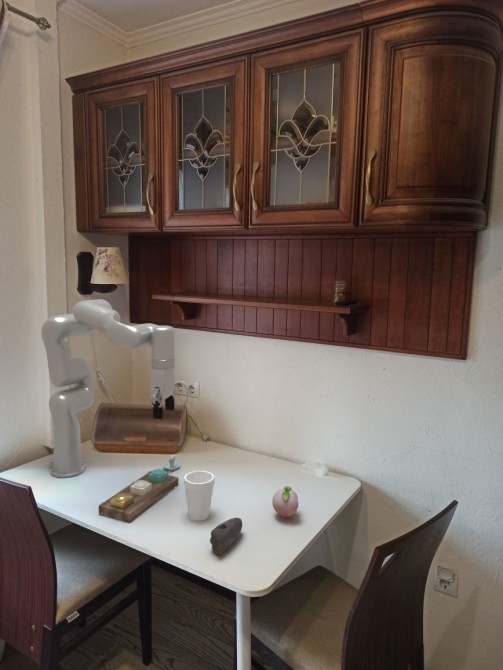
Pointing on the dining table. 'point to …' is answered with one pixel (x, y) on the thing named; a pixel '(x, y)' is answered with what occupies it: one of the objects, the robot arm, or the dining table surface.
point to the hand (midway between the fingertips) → (164, 414)
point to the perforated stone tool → (225, 534)
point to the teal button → (158, 475)
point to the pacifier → (171, 464)
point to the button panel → (139, 499)
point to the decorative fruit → (285, 502)
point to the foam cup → (199, 494)
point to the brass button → (121, 501)
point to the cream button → (141, 487)
